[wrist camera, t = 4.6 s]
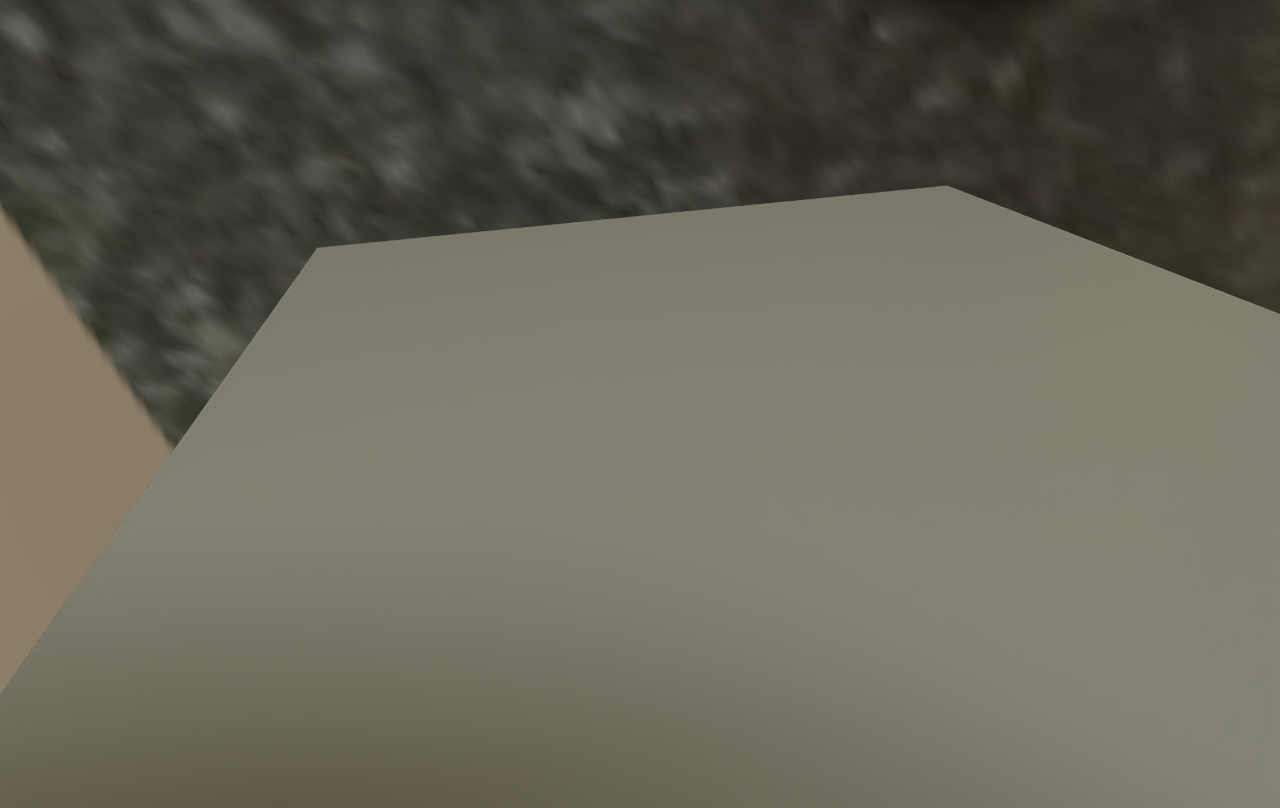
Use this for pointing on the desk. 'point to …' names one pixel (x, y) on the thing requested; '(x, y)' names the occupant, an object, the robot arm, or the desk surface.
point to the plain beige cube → (697, 533)
